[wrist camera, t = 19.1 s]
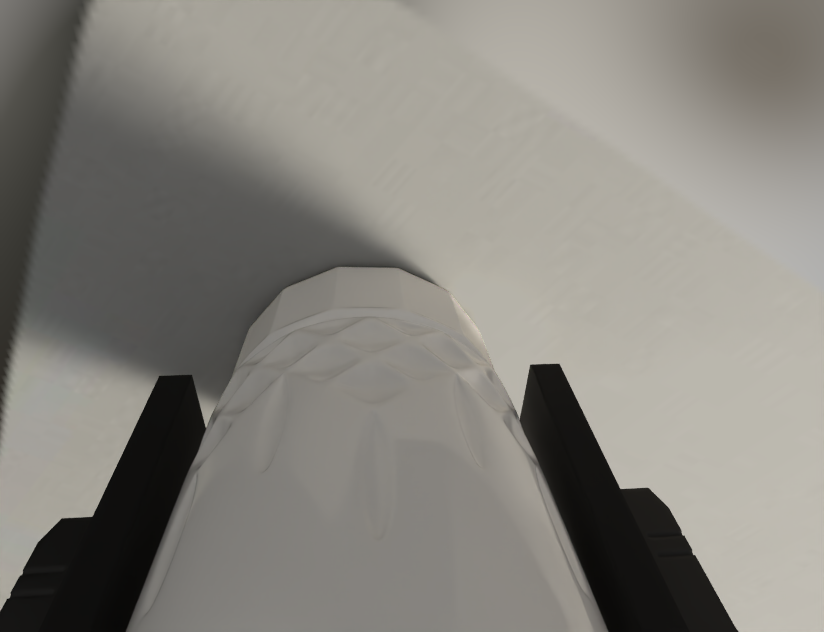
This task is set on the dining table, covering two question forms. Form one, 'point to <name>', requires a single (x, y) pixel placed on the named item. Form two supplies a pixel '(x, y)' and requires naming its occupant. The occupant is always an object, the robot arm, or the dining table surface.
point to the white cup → (365, 481)
